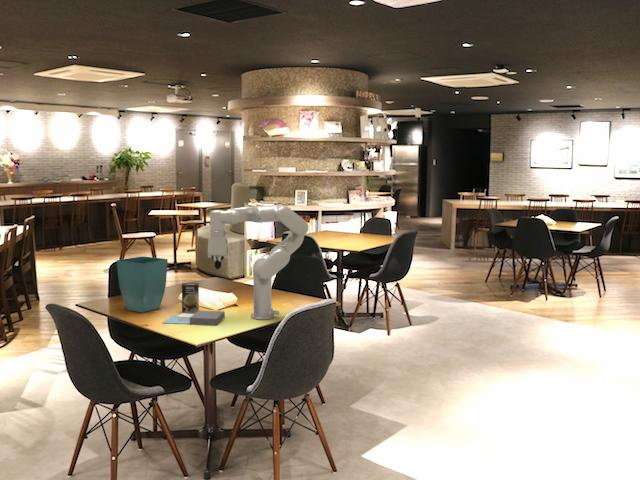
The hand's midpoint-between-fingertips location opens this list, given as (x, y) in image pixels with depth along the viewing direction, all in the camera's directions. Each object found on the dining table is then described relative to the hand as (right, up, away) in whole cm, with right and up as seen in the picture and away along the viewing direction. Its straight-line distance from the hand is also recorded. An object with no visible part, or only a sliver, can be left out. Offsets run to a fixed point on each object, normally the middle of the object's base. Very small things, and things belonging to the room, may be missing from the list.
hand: (218, 268), depth 330 cm
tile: (-16, -27, +1) cm, 31 cm away
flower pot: (-45, -24, +23) cm, 56 cm away
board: (-5, -27, -1) cm, 28 cm away
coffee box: (-18, -25, +17) cm, 35 cm away
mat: (-20, -27, +1) cm, 33 cm away
